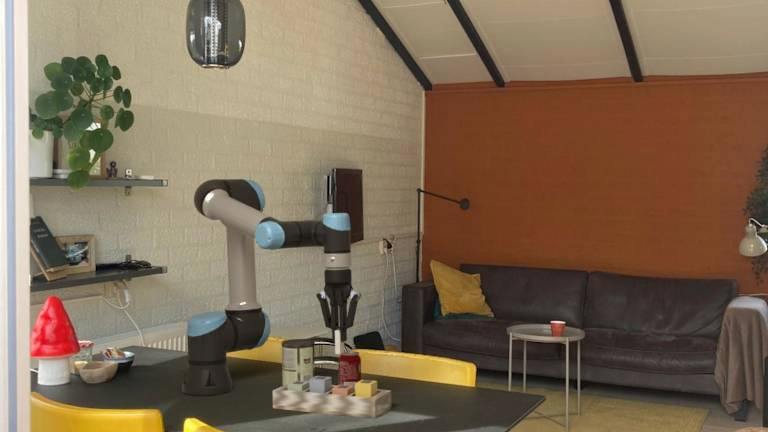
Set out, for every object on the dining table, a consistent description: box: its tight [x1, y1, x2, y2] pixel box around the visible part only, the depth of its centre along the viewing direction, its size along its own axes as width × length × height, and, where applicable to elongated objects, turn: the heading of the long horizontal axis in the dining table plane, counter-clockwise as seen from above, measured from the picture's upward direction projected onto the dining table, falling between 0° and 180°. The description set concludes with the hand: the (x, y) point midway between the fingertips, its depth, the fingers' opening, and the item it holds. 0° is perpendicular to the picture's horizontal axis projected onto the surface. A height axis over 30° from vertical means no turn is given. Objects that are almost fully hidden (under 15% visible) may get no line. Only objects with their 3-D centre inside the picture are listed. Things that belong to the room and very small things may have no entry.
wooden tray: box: [272, 383, 392, 420], centre depth 237 cm, size 31×12×5 cm, turn 68°
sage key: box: [287, 381, 309, 391], centre depth 241 cm, size 5×5×5 cm
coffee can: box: [281, 338, 316, 386], centre depth 263 cm, size 10×10×14 cm
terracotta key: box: [332, 384, 354, 396], centre depth 235 cm, size 5×5×5 cm
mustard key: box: [355, 379, 378, 398], centre depth 233 cm, size 5×5×5 cm
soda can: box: [338, 350, 362, 387], centre depth 255 cm, size 7×7×12 cm
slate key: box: [310, 375, 333, 393], centre depth 238 cm, size 5×5×5 cm
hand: (339, 353), depth 235 cm, fingers closed
